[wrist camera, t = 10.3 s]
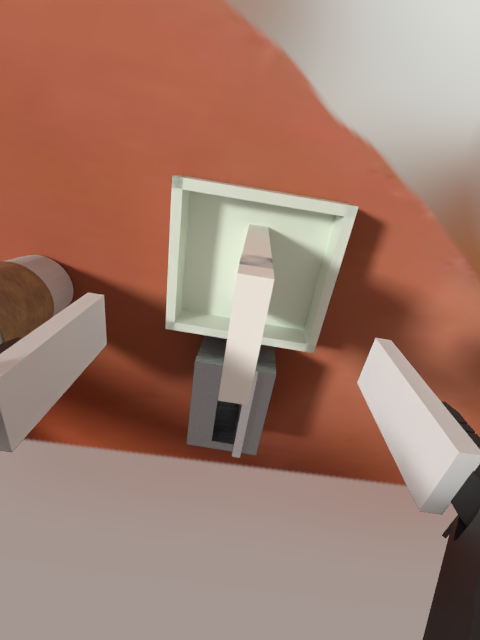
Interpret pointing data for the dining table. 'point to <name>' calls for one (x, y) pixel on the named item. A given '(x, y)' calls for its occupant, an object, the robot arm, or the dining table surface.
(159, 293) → the dining table surface
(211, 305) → the tray
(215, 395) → the dispenser
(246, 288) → the white striped flat box
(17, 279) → the coffee cup
